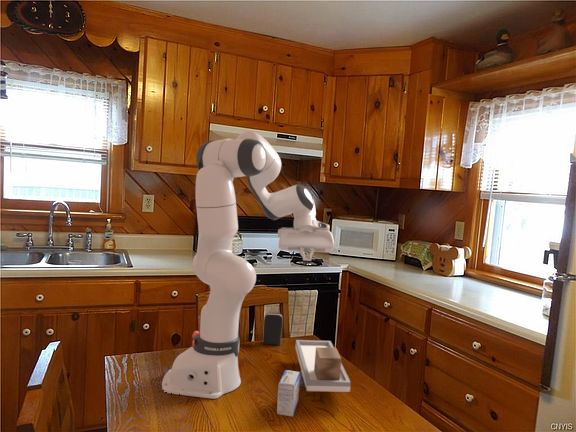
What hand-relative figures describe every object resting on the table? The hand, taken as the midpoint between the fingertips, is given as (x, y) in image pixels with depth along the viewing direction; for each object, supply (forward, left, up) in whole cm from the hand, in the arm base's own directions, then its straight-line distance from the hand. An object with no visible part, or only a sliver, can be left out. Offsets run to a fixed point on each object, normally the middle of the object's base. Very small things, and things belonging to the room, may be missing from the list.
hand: (307, 259), depth 142 cm
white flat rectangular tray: (+3, -21, -29) cm, 36 cm away
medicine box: (-8, -36, -34) cm, 50 cm away
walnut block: (+3, -30, -28) cm, 41 cm away
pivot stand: (+3, -21, -33) cm, 40 cm away
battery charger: (-10, +7, -34) cm, 36 cm away
